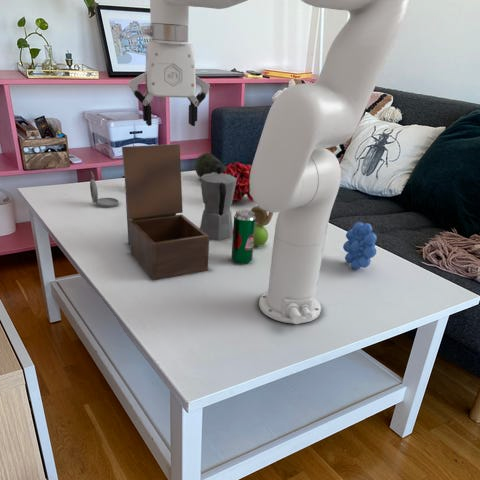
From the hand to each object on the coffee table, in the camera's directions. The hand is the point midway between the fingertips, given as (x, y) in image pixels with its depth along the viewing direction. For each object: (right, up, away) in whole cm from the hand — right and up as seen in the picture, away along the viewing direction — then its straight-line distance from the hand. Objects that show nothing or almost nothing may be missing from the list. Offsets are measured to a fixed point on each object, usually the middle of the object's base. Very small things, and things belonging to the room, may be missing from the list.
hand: (170, 124), depth 107 cm
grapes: (+44, -31, +11) cm, 55 cm away
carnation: (+11, -1, +55) cm, 56 cm away
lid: (-4, -12, +4) cm, 13 cm away
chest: (-1, -30, +7) cm, 30 cm away
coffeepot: (+9, -21, +23) cm, 32 cm away
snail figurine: (+20, -24, +19) cm, 37 cm away
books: (-7, -24, +15) cm, 29 cm away
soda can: (+16, -29, +10) cm, 34 cm away
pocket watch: (-25, -9, +37) cm, 46 cm away
